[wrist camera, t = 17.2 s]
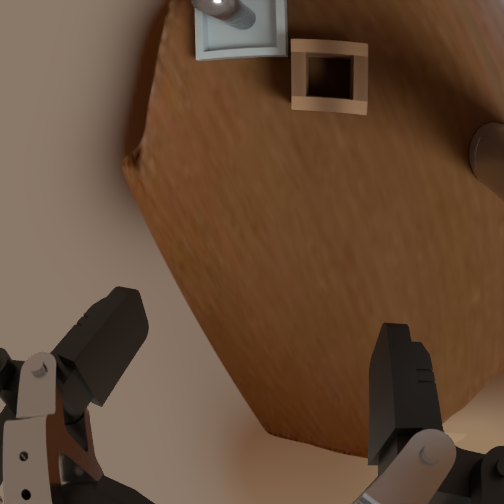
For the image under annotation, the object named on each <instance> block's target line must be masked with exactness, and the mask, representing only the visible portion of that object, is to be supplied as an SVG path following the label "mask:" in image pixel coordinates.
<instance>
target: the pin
mask: <svg viewBox="0 0 504 504" xmlns="http://www.w3.org/2000/svg"><path fill="white" fill-rule="evenodd" d="M191 3H192V5H193V6H194V8H196V9H197V10H199V11H202V12H204V13H206V14H208V15H210V16H212V17H215V18H217V19H219V20H221V21H223V22H225V23H227V24H229V25H231V26H233V27H235V28H237V29H239V30H246V29H249V28H250V27H252V26H253V25H254V23H255V21H256V15H255V13H254V12H253V11H252V10H251V9H250V8H249V7H247V6H246V5H245V4H244V3H243V2H241V1H240V0H191Z"/></svg>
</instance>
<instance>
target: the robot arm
mask: <svg viewBox="0 0 504 504" xmlns="http://www.w3.org/2000/svg"><path fill="white" fill-rule="evenodd" d="M469 159H470V165H471V168H472V171H473V173H474V175H475V176H476V177H477V179H478V180H479V181H480V182H482V183H483V184H484V185H485V186H486V187H488V188H489V189H490V190H491V191H492V192H494V193H495V194H496V195H497V196H498V197H500V198H501V199H502V200H503V201H504V125H503V124H500V123H493V122H492V123H488V124H485V125H483V126H482V127H481V128H479V129H478V130H477V132H476V133H475V135H474V136H473V138H472V141H471V144H470V149H469ZM148 326H149V325H148V320H147V317H146V313H145V310H144V307H143V303H142V299H141V296H140V293H139V291H138V290H136V289H130V288H125V287H119V286H118V287H116V288H114V289H113V290H112V291H111V293H110V294H109V295H108V296H107V297H106V298H103V299H101V300H100V301H98V302H97V303H95V304H93V305H92V306H91V307H90V308H89V309H88V310H87V312H86V313H85V314H84V317H81V318H80V319H79V321H78V322H77V325H74V326H73V328H72V329H71V330H70V331H69V332H68V333H67V335H66V336H65V337H64V338H63V339H62V340H61V341H60V343H59V344H58V345H57V346H56V347H55V349H54V350H53V351H52V352H51V353H46V352H40V353H37V354H34V355H32V356H31V357H29V358H28V359H27V360H26V361H16V360H12V359H11V358H10V356H9V355H8V353H7V352H6V351H5V349H3V348H0V398H1V399H2V400H3V401H4V403H6V406H5V407H4V409H3V411H2V412H1V413H0V485H1V483H2V481H3V490H4V504H154V503H153V502H152V501H150V500H148V499H147V498H146V497H144V496H143V495H142V494H140V493H139V492H137V491H136V490H135V489H132V488H130V487H128V486H125V485H123V484H121V483H119V482H117V481H115V480H112V479H110V478H108V477H106V476H104V474H103V471H102V469H101V467H100V465H99V464H98V462H97V459H96V457H95V452H94V446H93V439H92V432H91V424H90V416H89V410H88V409H87V406H88V404H89V403H90V402H92V403H94V404H96V405H99V406H101V407H102V406H103V404H104V403H105V401H106V400H107V398H108V396H109V395H110V393H111V391H112V390H113V389H114V387H115V385H116V384H117V382H118V381H119V379H120V377H121V376H122V374H123V373H124V371H125V370H126V368H127V367H128V365H129V364H130V362H131V360H132V359H133V358H134V356H135V354H136V353H137V351H138V350H139V348H140V347H141V345H142V344H143V342H144V341H145V339H146V337H147V334H148V329H149V327H148ZM432 370H433V368H432V363H431V358H430V354H429V353H428V352H427V350H426V349H425V347H424V346H423V344H422V343H421V342H411V337H410V332H409V327H408V325H407V324H395V323H383V325H382V327H381V330H380V333H379V336H378V339H377V342H376V345H375V348H374V351H373V354H372V357H371V361H370V368H369V449H368V465H378V476H377V478H376V479H375V480H374V481H373V482H372V483H371V484H370V485H369V486H368V487H367V488H366V489H365V490H364V492H363V493H362V494H361V495H360V496H359V497H358V498H357V499H356V500H355V501H354V502H353V503H352V504H504V446H498V447H495V448H493V449H491V450H490V451H489V452H488V453H486V454H481V453H476V452H471V451H467V450H464V449H460V448H458V447H456V446H455V444H454V442H453V440H452V439H451V438H450V437H449V436H448V435H447V434H446V433H444V430H443V427H442V420H441V413H440V407H439V400H438V394H437V389H436V384H435V378H434V373H433V372H432ZM0 504H2V498H1V496H0Z"/></svg>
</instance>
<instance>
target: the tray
mask: <svg viewBox="0 0 504 504" xmlns="http://www.w3.org/2000/svg"><path fill="white" fill-rule="evenodd" d="M240 1H241V2H243V3H244V4H245V5H246V6H247V7H249V8H250V9H251V10H252V11H253V12H254V13H255V15H256V21H255V23H254V25H253V26H252V27H250V28H249V29H246V30H239V29H237V28H235V27H233V26H231V25H229V24H227V23H225V22H223V21H221V20H219V19H217V18H215V17H212V16H210V15H208V14H206V13H204V12H202V11H199V10H197V9H196V8H195V43H196V60H198V61H211V60H222V59H235V58H255V57H288V17H287V0H240Z"/></svg>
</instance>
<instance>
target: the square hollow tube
mask: <svg viewBox="0 0 504 504" xmlns="http://www.w3.org/2000/svg"><path fill="white" fill-rule="evenodd" d="M309 58H329V59H342V60H350V98H339V97H326V96H309ZM291 88H292V110H311V111H327V112H340V113H351V114H360V115H367V99H368V44H367V43H358V42H347V41H335V40H317V39H291Z"/></svg>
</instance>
